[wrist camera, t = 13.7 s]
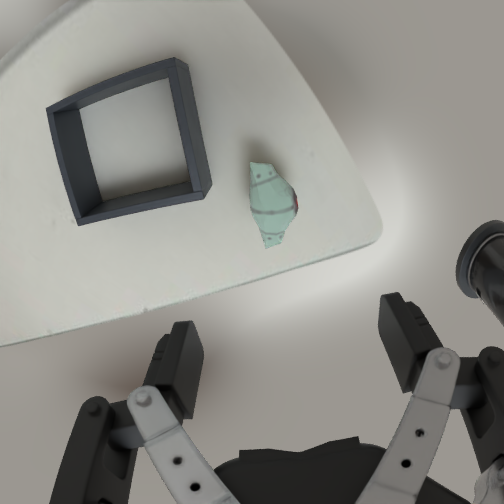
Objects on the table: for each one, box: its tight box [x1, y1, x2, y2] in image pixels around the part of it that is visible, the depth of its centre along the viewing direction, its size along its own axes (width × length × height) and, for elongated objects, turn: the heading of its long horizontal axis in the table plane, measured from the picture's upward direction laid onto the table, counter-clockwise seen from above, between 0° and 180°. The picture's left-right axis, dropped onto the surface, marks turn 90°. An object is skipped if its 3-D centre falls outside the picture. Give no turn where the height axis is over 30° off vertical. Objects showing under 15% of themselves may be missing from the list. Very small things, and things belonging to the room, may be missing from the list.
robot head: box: [249, 162, 298, 248], centre depth 27 cm, size 8×4×7 cm, turn 10°
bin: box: [46, 57, 212, 226], centre depth 26 cm, size 14×13×5 cm
